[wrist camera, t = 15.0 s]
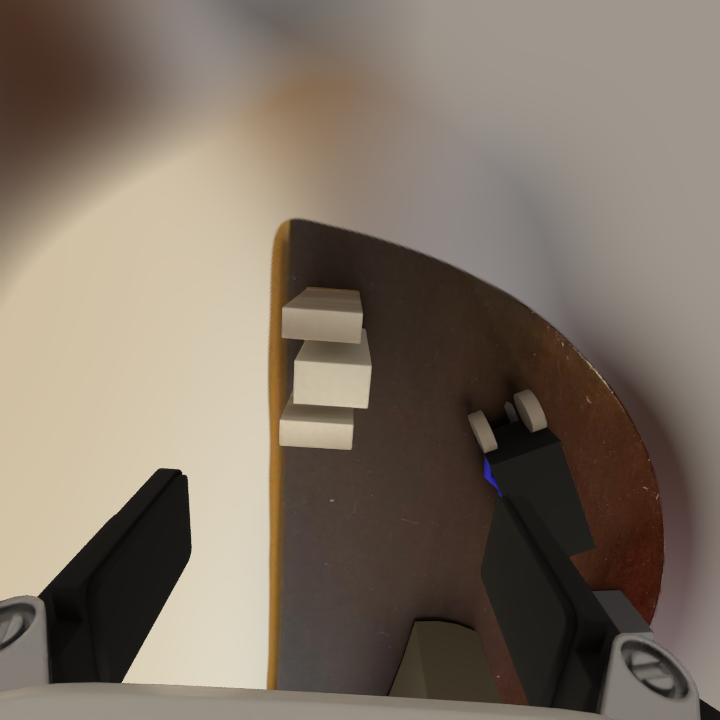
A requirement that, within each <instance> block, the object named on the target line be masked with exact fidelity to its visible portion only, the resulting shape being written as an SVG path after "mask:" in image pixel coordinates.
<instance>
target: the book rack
mask: <svg viewBox="0 0 720 720" xmlns="http://www.w3.org/2000/svg"><path fill="white" fill-rule="evenodd" d="M362 320H363V311H362V305H361V299H360V292H359V291H358V290H346V289H333V288H321V287H309V286H308V287H307V288H306V289H305V290H304V291H303V292H301V293H300V294H299V295H298V296H296V297H295V298H294V299H293V300H291V301H290V302H289V303H287V304H286V305H285V306H284V307H282V338H291V339H304V342H305V340H318V341H331V342H344V343H358V344H360V343H361V332H362ZM293 392H294V389H293V391H292V393H291V396H290V398H289V400H288V403H287V405H286V407H285V410H284V412H283V414H282V416H281V419H280V433H279V445H283V446H299V447H315V448H331V449H347V450H351V449H352V438H353V426H354V407H339V406H325V405H310V404H295V403H293Z"/></svg>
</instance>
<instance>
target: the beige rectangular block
mask: <svg viewBox="0 0 720 720" xmlns="http://www.w3.org/2000/svg"><path fill="white" fill-rule="evenodd" d="M371 370H372V365H371V359H370V353H369V347H368V341H367V335H366V329H362V332H361V343H360V344H358V343H344V342H331V341H318V340H305V342H304V344H303V346H302V348H301V350H300V352H299V353H298V355H297V357H296V359H295V361H294V392H293V403H295V404H310V405H325V406H339V407H354V408H368V401H369V391H370V380H371Z"/></svg>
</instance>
